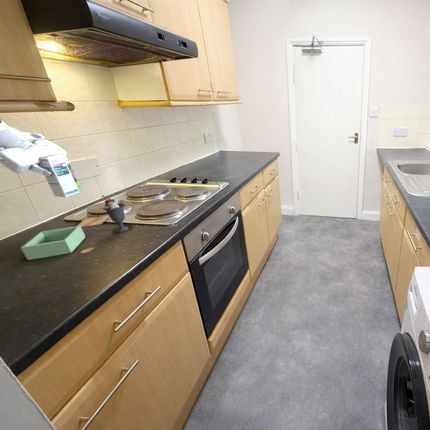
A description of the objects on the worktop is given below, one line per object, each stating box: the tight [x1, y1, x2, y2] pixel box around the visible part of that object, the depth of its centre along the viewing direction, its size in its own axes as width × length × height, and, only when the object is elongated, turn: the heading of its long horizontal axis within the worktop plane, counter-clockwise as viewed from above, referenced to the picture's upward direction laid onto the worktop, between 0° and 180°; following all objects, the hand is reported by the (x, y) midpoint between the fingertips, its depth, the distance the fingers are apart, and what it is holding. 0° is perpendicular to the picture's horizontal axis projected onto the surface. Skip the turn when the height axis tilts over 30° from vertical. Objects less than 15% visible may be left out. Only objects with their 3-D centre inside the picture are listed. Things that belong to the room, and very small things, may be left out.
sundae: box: [101, 194, 129, 233], centre depth 100 cm, size 7×7×15 cm
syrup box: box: [38, 154, 83, 198], centre depth 95 cm, size 6×6×14 cm
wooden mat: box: [76, 214, 110, 228], centre depth 110 cm, size 9×9×1 cm
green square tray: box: [20, 225, 86, 261], centre depth 90 cm, size 11×11×5 cm
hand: (60, 171), depth 95 cm, fingers closed on syrup box, 7 cm apart
